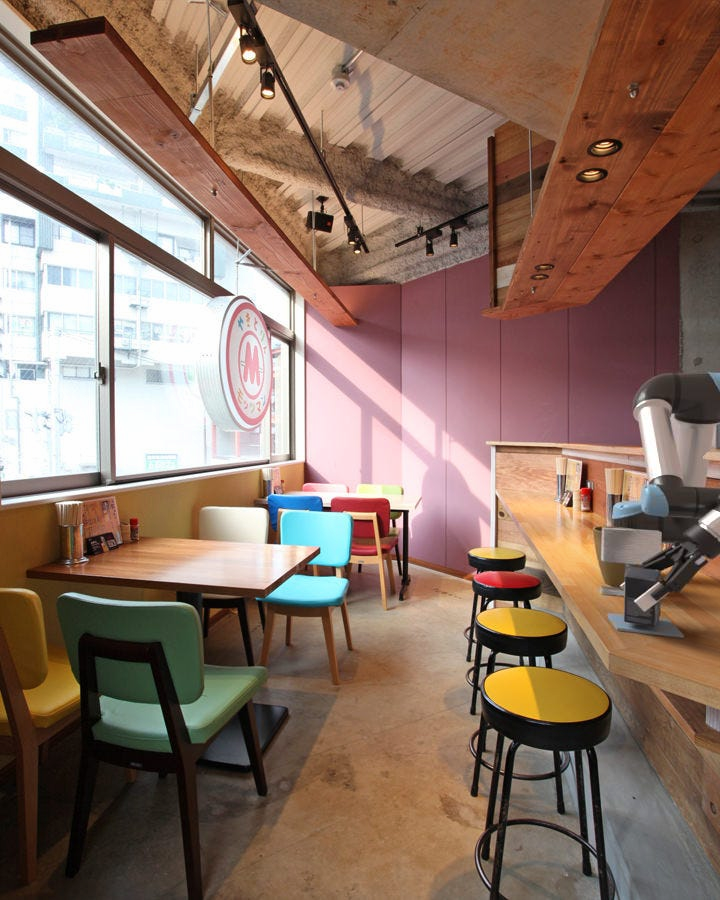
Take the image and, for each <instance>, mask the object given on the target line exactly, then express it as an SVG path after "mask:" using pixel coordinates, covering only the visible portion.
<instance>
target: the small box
mask: <svg viewBox="0 0 720 900" xmlns="http://www.w3.org/2000/svg"><path fill="white" fill-rule="evenodd" d="M661 579H662V571H660V570H652V569H644V568H636V567H631V569H630V570H629V572H628V573H627V574H626V576H625V589H624V596H623V597H624V598H623V599H624V600H623V602H624V603H623V605H624V606H623V615H624V622H628V623H633V624H638V625H643V626H648V627H653V628H655V627H656V625H657V623H658V620H659V618H660V617H661V613H662V612H661V600H659V601H658V602H657V603H655V604H654V605H653V606H651V607H650V608H649V609H648V610H646V611H645V612H644V611H643V610H642V609H641V608H640V607H639V606H638V605H637V604H636V603H635V602H634V601H635V600H636V599H637V598H639V597H640V596H641V595H642V594H644V593H645V592H646V591H647V590H649V589H650V588H651V587H653V586H654V585H655V584H656V583H658V582H659V581H658V580H661ZM659 583H660V582H659ZM660 584H661V583H660ZM661 585H662V584H661Z"/></svg>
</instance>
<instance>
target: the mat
mask: <svg viewBox="0 0 720 900" xmlns="http://www.w3.org/2000/svg"><path fill="white" fill-rule="evenodd" d="M606 616H607V617H608V619H609V621H610V622H611V624H612V625H613V626H614V628H615V629H616V631H618V632H627V633H635V634H645V635H654V636H662V637H663V636H664V637H673V638H680V639H681V638H682V639H685V635H684V634H683V632H681V630H680V629H679V628H678V627H676V625H674V623H672V621H670V619H668V618H667V619H666V618H660V617H659V620H658V623H657V625H656V627H655V628H653V627H648V626H643V625H638V624H633V623H628V622H624V614H620V613H613V612H612V613H611V612H609V613H608V612H607V613H606Z"/></svg>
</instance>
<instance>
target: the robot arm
mask: <svg viewBox="0 0 720 900" xmlns="http://www.w3.org/2000/svg"><path fill="white" fill-rule="evenodd" d="M631 409H632V415H633V417H634V419H635V421H637V422H638V426H639V433H640V439H641V445H642V452H643V457H644V462H645V471H646V476H647V482H648V484H645V485H643V486H642V488H641V492H640V499H639V500H638V499H637V500H625V501H620V502H617V503H615V504H614V505H613V508H612V515H611V519H612V520H611V523H612V525H611V527H622V528H630V529H639V530H655V531H660V532H662V537H661V544H669V546H668V547H666V548H665V549H663V550H661V552H659V553H658V554H656V555H654V556H653V557H651V558H649V559H648V560H646V561H644V562H643V563H642V566H641V568H644V569H652V570H660V571H661V572H662V571H664V570H667V569H670V570H669V571H668V573H666V575H665V577H664V578H661V580H658V581H659V582H660V583H661V584H660V583H659V582H658V583H656V584H655V585H654V586H653V587H651V588H650V589H649V590H647V591H646V592H645V593H644V594H642V595H641V596H640V597H639V598H637V599H636V600H635V601H634V602H635V603H636V604H637V605H638V606H639V607H640V608H641V609H642V610H643V611H644V612H645V611H646V610H648V609H649V608H650V607H651V606H653V605H654V604H655V603H657V602H658V601H659V600H660V601H661V600H662V599H664V598H665V597H666V596H667V595H668V594H672V593H674V594H679V593H680V592H681V591H682V589H684V588H685V587H686V585H687V584H688V583H689V582H690V581H691V580H692V579H693V578H694V577H695V575H696V574H698V572H699V571H700V570H701V569H702V568H704V567H705V566H706V565H707V564H708V563H709V560H714V559H717V557H718V556H720V487H709V486H708V487H706V485H707V484H706V483H707V477H708V470H709V464H710V459H709V460H706V459H703V456H704V455H705V454H706V453H707V452H709V451H711V452H712V446H713V445H712V444H713V439H714V432H715V428H716V426H717V425H720V372H709V371H706V372H705V371H704V372H703V371H702V372H701V371H700V372H685V373H684V372H683V373H682V372H681V373H680V372H679V373H678V372H677V373H675V372H674V373H671V372H670V373H669V372H668V373H667V372H666V373H661V374H658V375H655V376H653V377H651V378H650V379H648V380H647V381H645V382H644V383H643V384H642V385H641V386H640V388H639V389H638V390H637V392H636V393H635V396H634V398H633V401H632V408H631ZM671 415H673V418H674V420H675V421H676V422H677V423H678V432H677V439H676V441H675V437H674V436H675V435H674V431H673V426H672V423H671V422H672V421H671ZM708 559H709V560H708ZM620 586H621V587H622V588H623V589H625V582H624V583H623V584H621V585H620ZM621 587H620V588H621Z"/></svg>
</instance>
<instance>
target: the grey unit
mask: <svg viewBox="0 0 720 900" xmlns="http://www.w3.org/2000/svg"><path fill="white" fill-rule="evenodd" d="M661 537H662V532H660V531H655V530H639V529H623V528H607V527H602V543H601V560H602V561H603V562H614V563H625V576H626V574H627V573H628V572H629V570H630V569H631V567H635V564H640V565H642V563H643V562H644V561H646V560H648V559H649V558H651V557H653V556H654V555H656V554H658V553H659V552H661V551H662V543H661ZM624 582H625V578H624ZM599 592H600V593H601V595H608V596H615V595H616V597H617V596H618V597H624V589H623V588H621V587H615V586H609V585H607V586H606V585H600V586H599Z"/></svg>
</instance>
